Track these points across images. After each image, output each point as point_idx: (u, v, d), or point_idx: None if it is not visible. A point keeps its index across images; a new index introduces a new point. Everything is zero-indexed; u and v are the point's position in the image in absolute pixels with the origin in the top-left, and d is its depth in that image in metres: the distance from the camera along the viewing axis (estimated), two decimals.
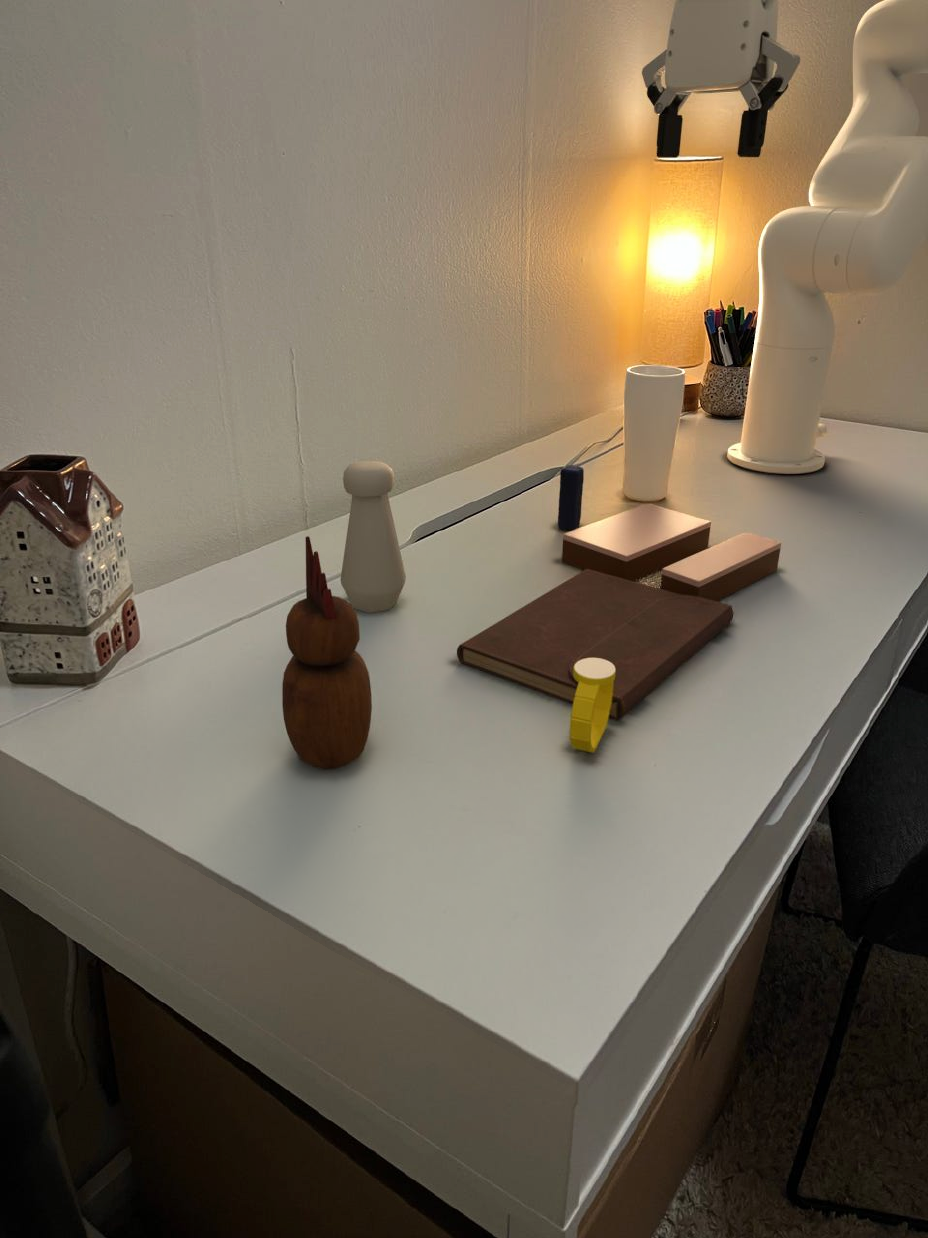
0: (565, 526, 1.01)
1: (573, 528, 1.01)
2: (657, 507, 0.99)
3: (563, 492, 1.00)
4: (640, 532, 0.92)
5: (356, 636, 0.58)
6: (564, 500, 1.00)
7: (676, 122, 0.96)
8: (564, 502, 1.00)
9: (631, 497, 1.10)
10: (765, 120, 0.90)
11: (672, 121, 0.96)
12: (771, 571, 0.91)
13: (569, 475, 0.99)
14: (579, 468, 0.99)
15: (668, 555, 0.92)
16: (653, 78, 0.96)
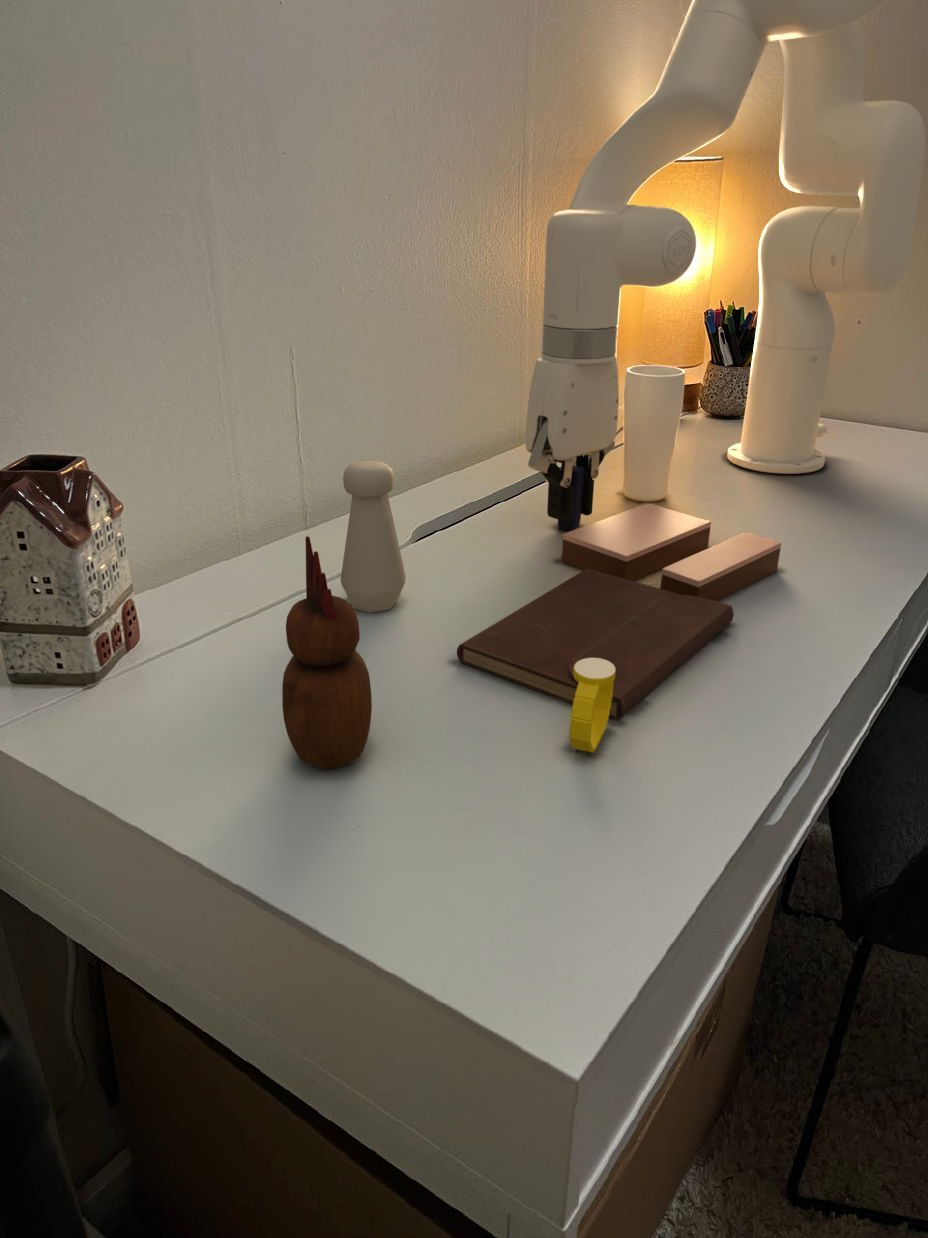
0: (565, 526, 1.01)
1: (573, 528, 1.01)
2: (657, 507, 0.99)
3: None
4: (640, 532, 0.92)
5: (356, 636, 0.58)
6: None
7: None
8: None
9: (631, 497, 1.10)
10: None
11: None
12: (771, 571, 0.91)
13: None
14: (579, 468, 0.99)
15: (668, 555, 0.92)
16: (548, 462, 0.95)
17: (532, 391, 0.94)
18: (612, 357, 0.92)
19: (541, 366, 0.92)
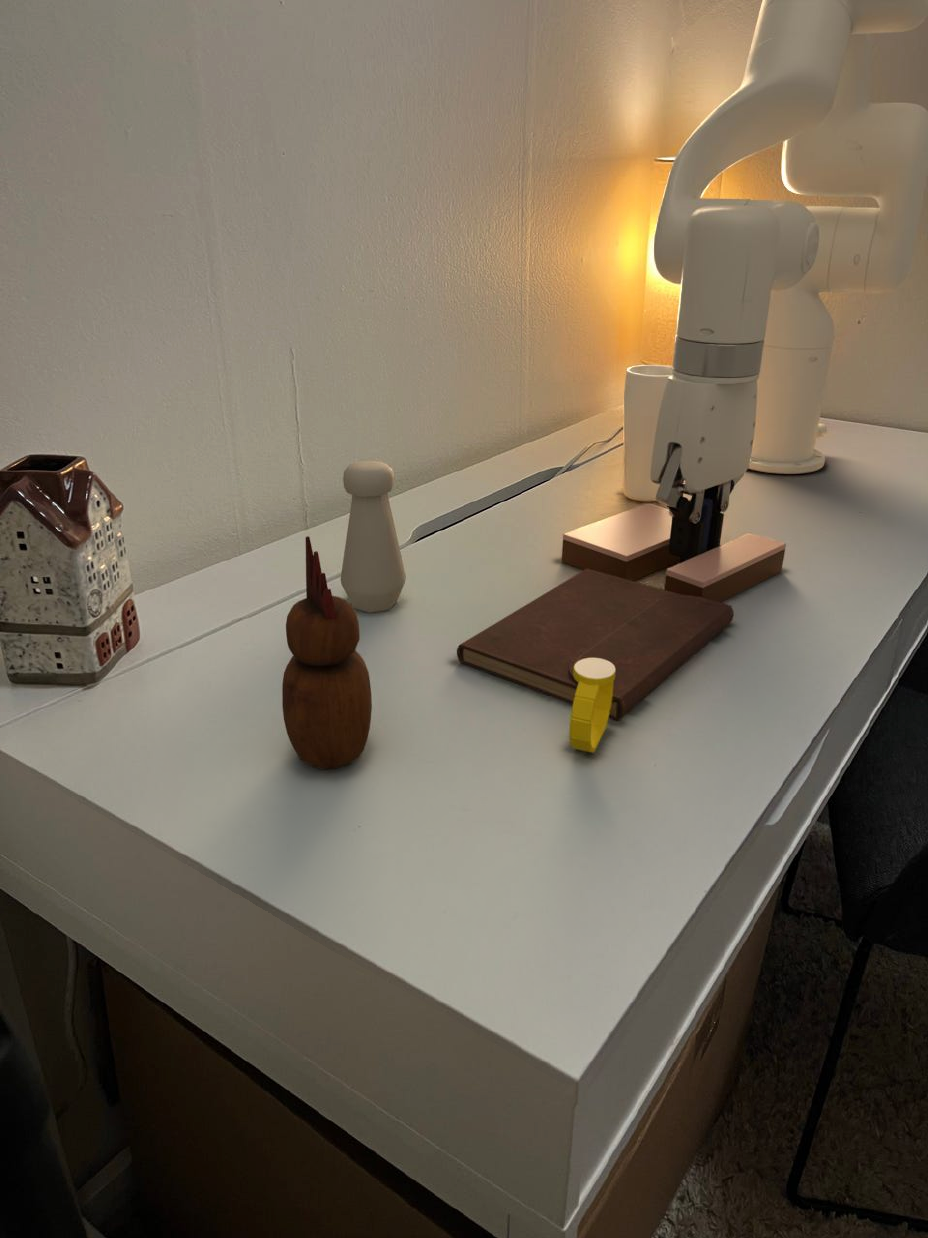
0: None
1: None
2: (657, 507, 0.99)
3: None
4: (640, 532, 0.92)
5: (356, 636, 0.58)
6: None
7: None
8: None
9: (631, 497, 1.10)
10: None
11: None
12: (775, 572, 0.90)
13: None
14: (709, 501, 0.87)
15: (668, 555, 0.92)
16: (678, 495, 0.83)
17: (662, 414, 0.82)
18: (757, 375, 0.80)
19: (676, 386, 0.80)
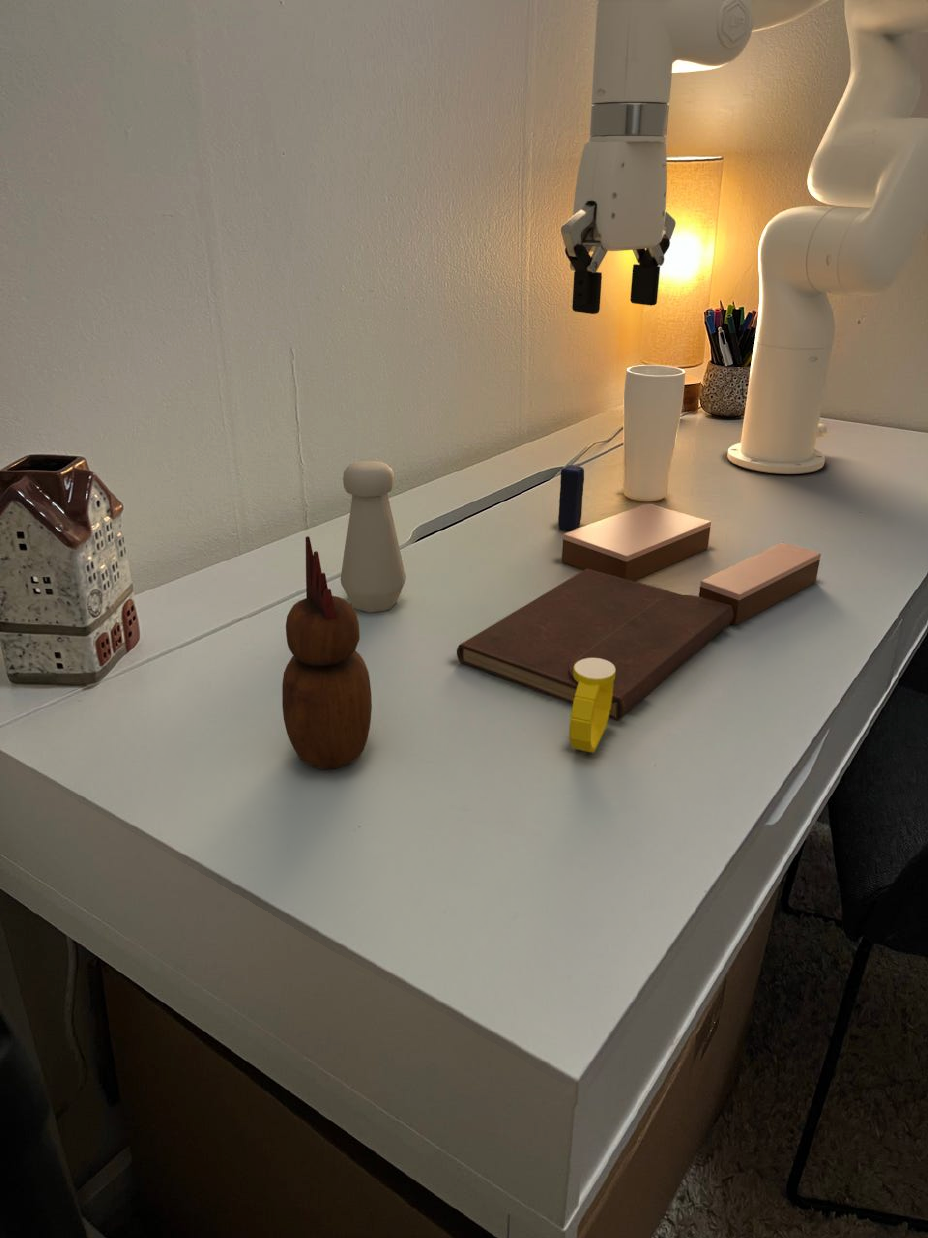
0: (565, 526, 1.01)
1: (573, 528, 1.01)
2: (657, 507, 0.99)
3: (563, 492, 1.00)
4: (640, 532, 0.92)
5: (356, 636, 0.58)
6: (564, 500, 1.00)
7: None
8: (564, 502, 1.00)
9: (631, 497, 1.10)
10: None
11: None
12: (810, 583, 0.88)
13: (569, 475, 0.99)
14: (580, 468, 0.99)
15: (668, 555, 0.92)
16: (580, 237, 0.91)
17: (580, 176, 0.91)
18: (663, 138, 0.90)
19: (590, 147, 0.90)
